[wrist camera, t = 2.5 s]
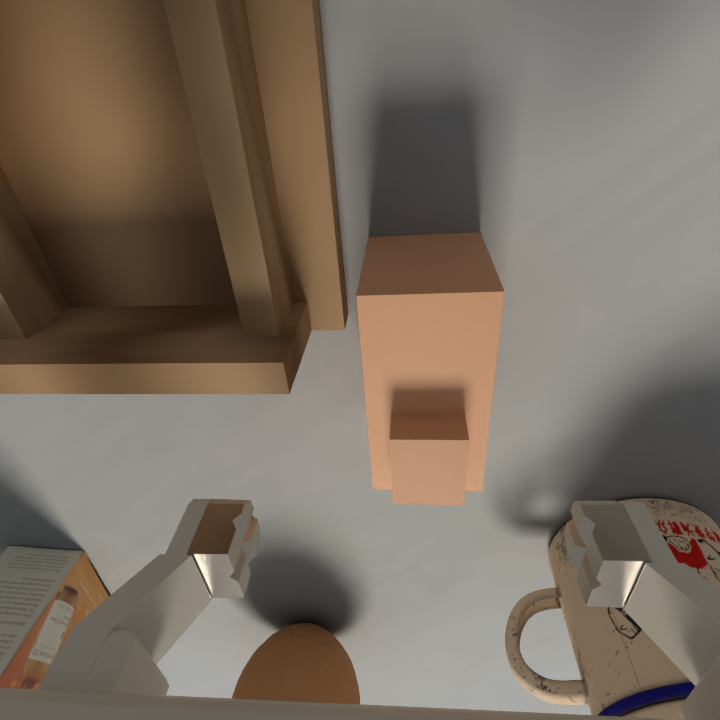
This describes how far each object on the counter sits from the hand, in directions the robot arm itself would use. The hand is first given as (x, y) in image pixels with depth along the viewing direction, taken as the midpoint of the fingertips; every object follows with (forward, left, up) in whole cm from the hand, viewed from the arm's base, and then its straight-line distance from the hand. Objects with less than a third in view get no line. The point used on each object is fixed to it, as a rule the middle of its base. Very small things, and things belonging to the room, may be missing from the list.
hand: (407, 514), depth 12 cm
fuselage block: (-1, 0, -9) cm, 9 cm away
